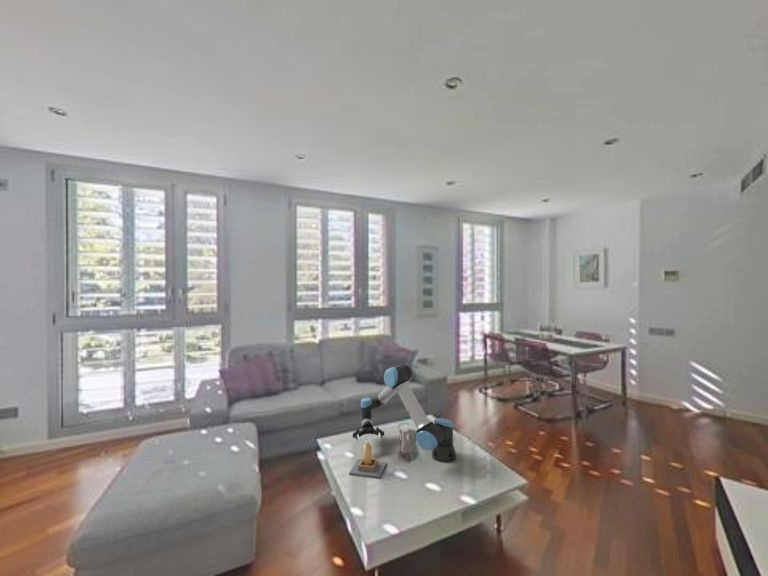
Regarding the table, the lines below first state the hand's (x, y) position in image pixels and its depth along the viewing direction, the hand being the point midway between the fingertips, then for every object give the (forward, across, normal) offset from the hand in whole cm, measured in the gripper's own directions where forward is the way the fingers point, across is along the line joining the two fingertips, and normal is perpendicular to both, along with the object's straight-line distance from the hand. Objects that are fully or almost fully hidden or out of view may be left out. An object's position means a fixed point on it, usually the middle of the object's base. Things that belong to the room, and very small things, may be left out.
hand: (369, 440), depth 224 cm
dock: (+10, +2, -13) cm, 17 cm away
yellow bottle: (+10, +2, -12) cm, 16 cm away
